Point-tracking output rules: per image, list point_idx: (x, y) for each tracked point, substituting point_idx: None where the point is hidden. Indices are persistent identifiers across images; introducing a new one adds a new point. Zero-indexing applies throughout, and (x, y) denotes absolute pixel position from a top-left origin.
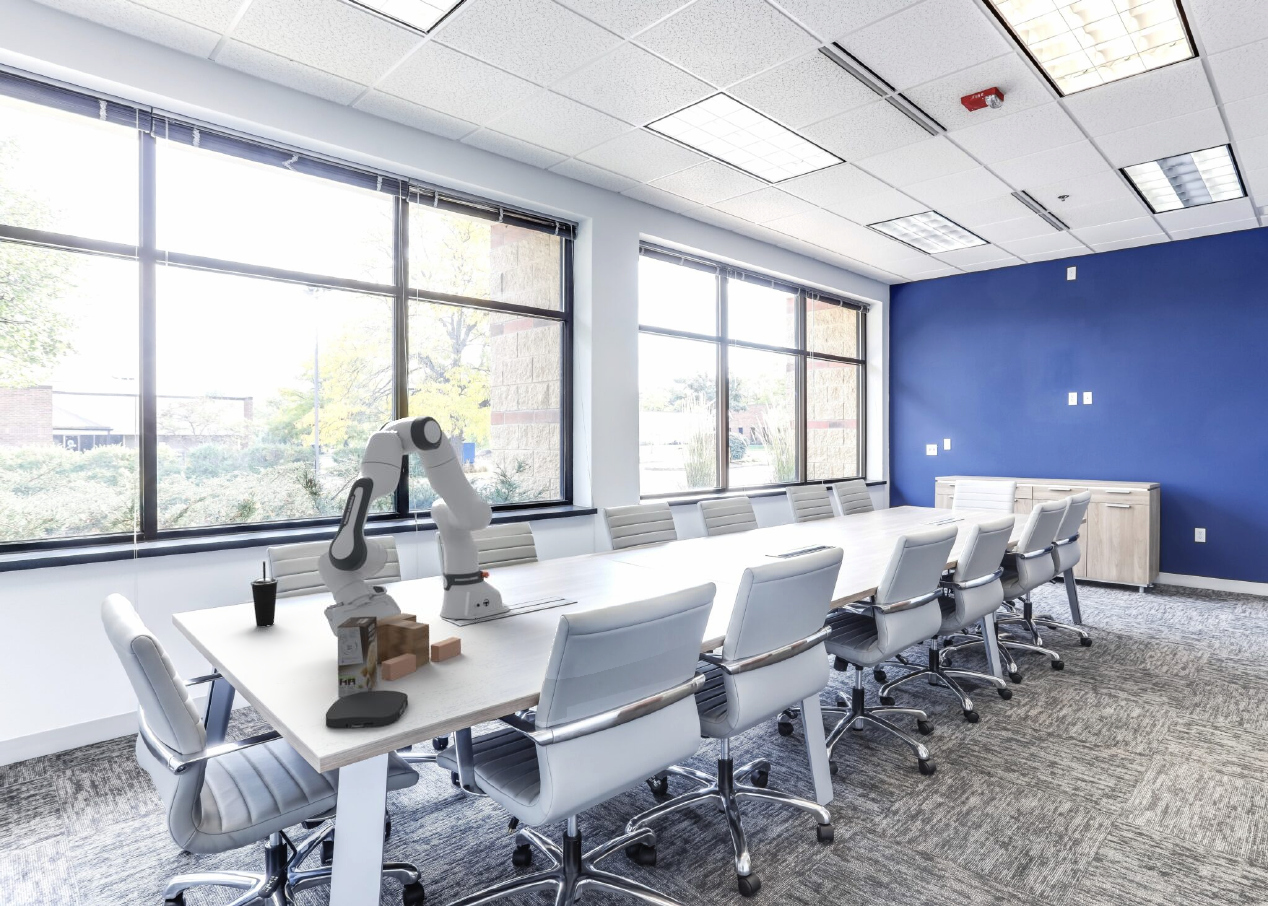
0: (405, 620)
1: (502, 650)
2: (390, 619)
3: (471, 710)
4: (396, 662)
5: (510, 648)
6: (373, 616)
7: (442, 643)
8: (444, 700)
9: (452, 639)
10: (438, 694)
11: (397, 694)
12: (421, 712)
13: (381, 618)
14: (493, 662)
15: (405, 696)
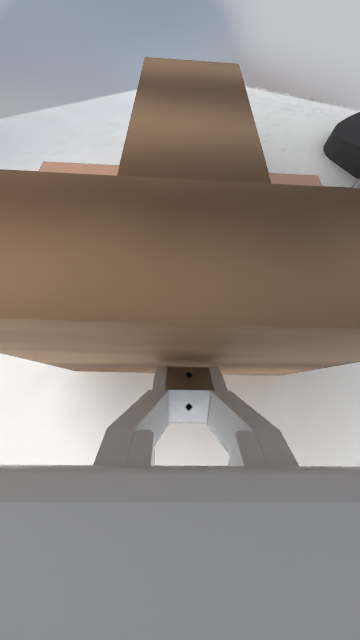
0: (131, 147)
1: (23, 157)
2: (157, 243)
3: (277, 94)
4: (295, 175)
5: (5, 152)
6: (164, 597)
7: (107, 173)
8: (279, 121)
9: (59, 172)
10: (271, 134)
11: (350, 131)
12: (325, 122)
13: (64, 483)
14: (104, 140)
15: (344, 121)
